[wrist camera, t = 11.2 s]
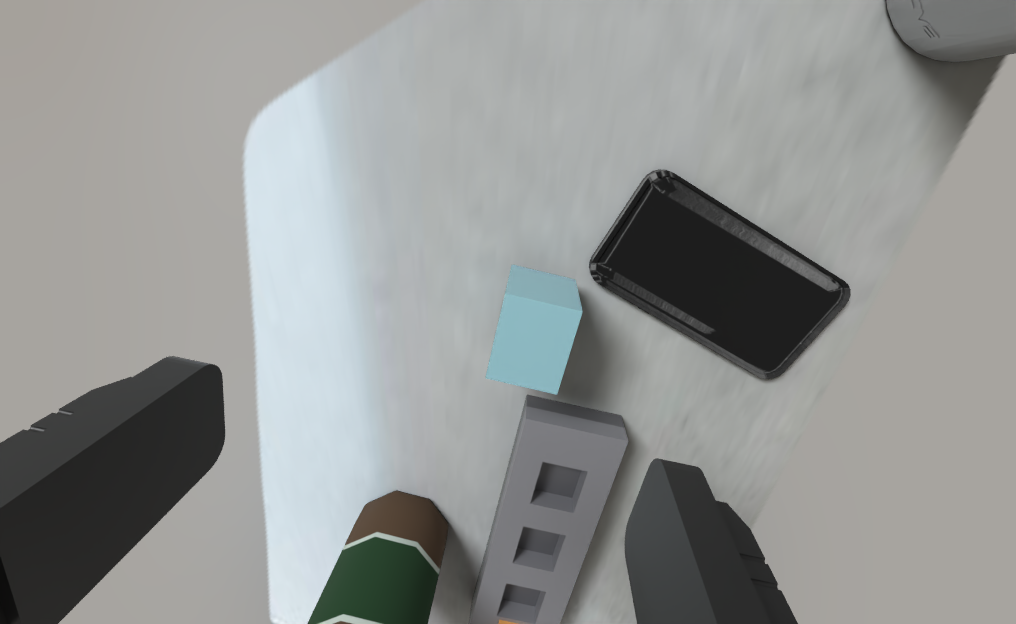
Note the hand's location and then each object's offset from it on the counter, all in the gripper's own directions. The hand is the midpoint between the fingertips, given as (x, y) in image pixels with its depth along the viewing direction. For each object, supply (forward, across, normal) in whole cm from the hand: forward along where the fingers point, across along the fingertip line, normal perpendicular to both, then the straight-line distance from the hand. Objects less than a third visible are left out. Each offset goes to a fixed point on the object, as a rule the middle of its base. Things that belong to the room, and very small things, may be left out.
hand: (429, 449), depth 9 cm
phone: (+23, -13, +1) cm, 27 cm away
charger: (+22, -2, +5) cm, 23 cm away
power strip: (+22, -7, +23) cm, 33 cm away
